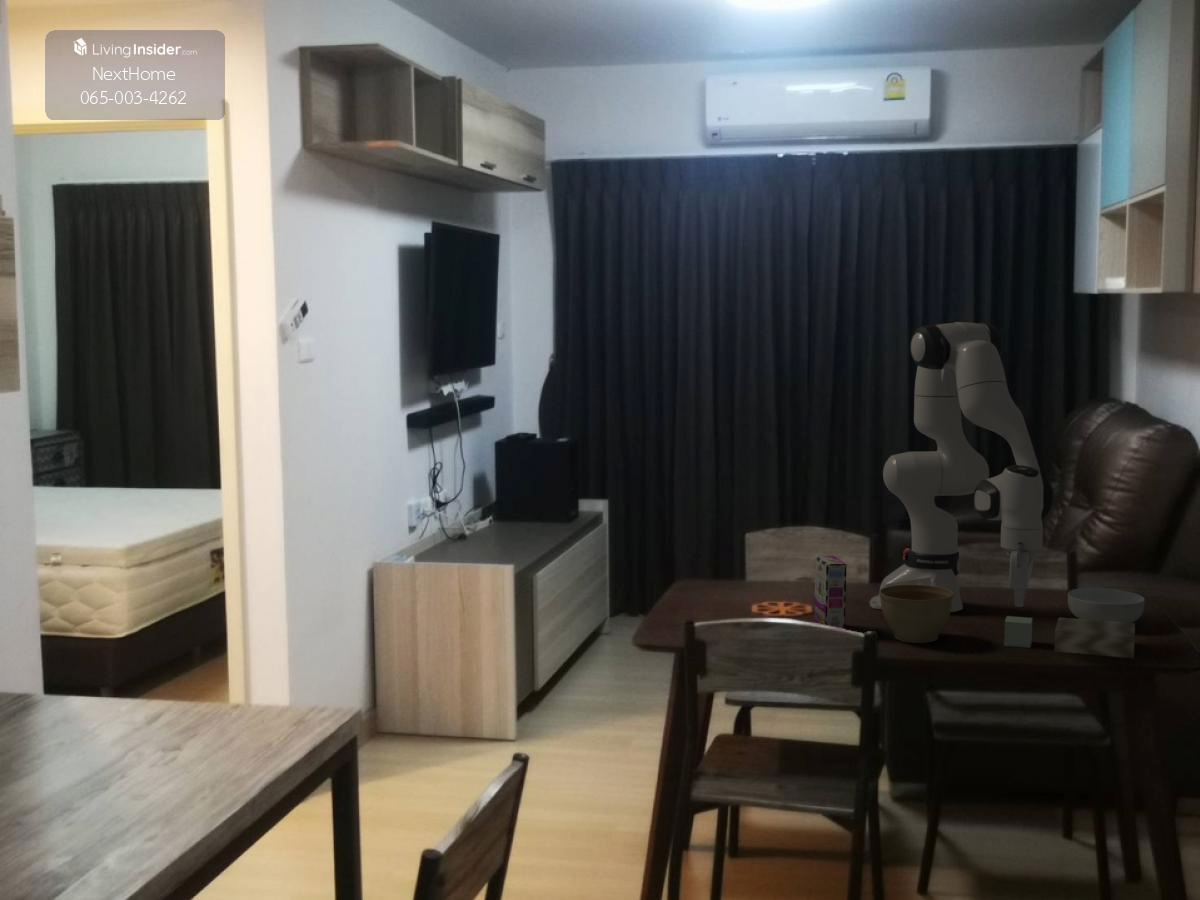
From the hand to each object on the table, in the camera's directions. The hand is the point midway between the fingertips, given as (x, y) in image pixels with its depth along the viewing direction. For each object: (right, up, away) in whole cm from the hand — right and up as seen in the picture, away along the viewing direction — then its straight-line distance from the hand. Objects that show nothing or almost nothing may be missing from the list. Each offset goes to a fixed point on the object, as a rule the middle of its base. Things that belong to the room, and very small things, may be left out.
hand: (1020, 602), depth 296 cm
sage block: (0, -10, +2) cm, 10 cm away
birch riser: (+16, -10, -2) cm, 19 cm away
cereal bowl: (+26, -8, +19) cm, 33 cm away
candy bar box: (-39, -8, +17) cm, 43 cm away
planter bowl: (-22, -9, +7) cm, 24 cm away
